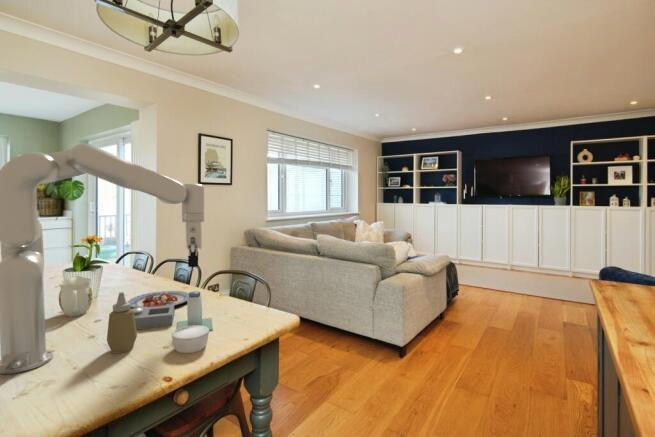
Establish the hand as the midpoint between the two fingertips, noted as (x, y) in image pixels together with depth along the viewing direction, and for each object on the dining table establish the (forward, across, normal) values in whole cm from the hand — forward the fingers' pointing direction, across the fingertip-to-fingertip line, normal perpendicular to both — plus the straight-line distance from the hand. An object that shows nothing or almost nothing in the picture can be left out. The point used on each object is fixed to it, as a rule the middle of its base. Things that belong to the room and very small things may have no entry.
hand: (193, 264), depth 123 cm
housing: (+23, +10, +16) cm, 30 cm away
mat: (+23, 0, 0) cm, 23 cm away
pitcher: (+24, +29, +45) cm, 58 cm away
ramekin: (+24, -18, 0) cm, 30 cm away
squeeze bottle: (+24, -13, +20) cm, 34 cm away
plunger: (+22, +10, +20) cm, 32 cm away
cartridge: (+23, 0, 0) cm, 23 cm away
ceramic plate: (+24, +35, +15) cm, 45 cm away
